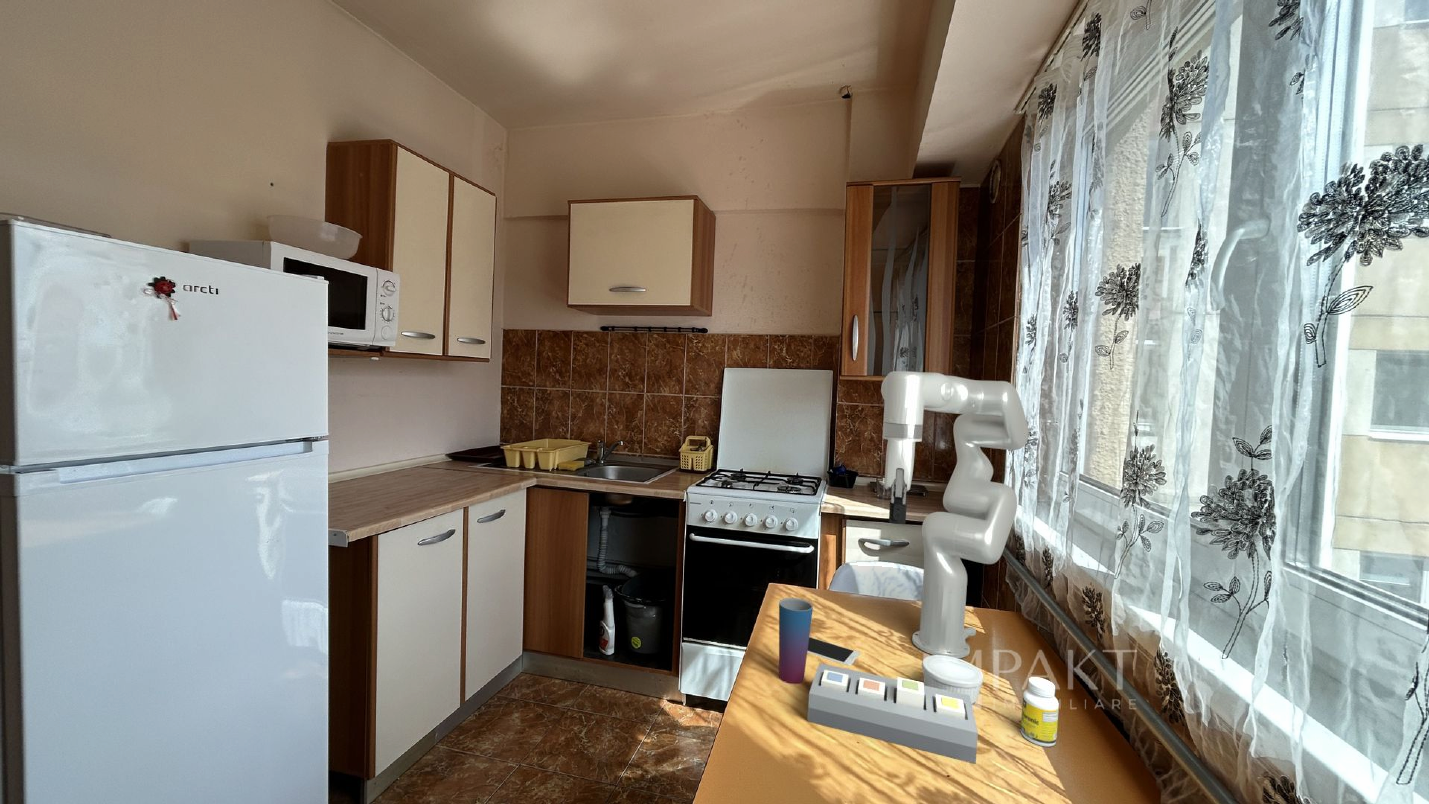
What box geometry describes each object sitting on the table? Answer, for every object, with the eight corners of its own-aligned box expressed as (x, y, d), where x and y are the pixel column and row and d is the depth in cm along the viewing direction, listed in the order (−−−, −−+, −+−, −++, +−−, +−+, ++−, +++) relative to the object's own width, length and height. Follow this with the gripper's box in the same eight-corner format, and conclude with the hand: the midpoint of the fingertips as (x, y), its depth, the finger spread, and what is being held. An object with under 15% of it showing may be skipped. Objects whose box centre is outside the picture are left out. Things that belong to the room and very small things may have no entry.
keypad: (807, 721, 97) (809, 693, 97) (817, 688, 109) (819, 662, 108) (975, 763, 88) (977, 732, 88) (967, 722, 100) (969, 695, 100)
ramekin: (978, 687, 113) (979, 661, 113) (985, 716, 102) (987, 688, 102) (919, 674, 117) (921, 650, 116) (921, 701, 106) (923, 674, 106)
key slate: (820, 697, 100) (821, 679, 100) (823, 685, 104) (824, 668, 104) (845, 702, 99) (846, 685, 99) (847, 690, 103) (848, 673, 103)
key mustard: (935, 724, 94) (937, 705, 94) (934, 710, 98) (935, 692, 98) (963, 731, 92) (965, 712, 92) (961, 716, 97) (962, 698, 96)
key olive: (896, 706, 96) (897, 687, 96) (896, 693, 100) (897, 676, 100) (923, 712, 94) (924, 693, 94) (922, 699, 99) (923, 681, 99)
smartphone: (850, 665, 118) (786, 644, 126) (850, 668, 118) (786, 647, 126) (860, 652, 125) (799, 633, 133) (860, 655, 125) (799, 636, 133)
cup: (807, 688, 108) (812, 612, 108) (773, 683, 109) (777, 608, 109) (808, 671, 115) (813, 600, 114) (776, 666, 116) (780, 596, 116)
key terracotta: (857, 705, 98) (858, 688, 98) (859, 693, 102) (860, 676, 102) (883, 711, 97) (884, 693, 97) (883, 699, 101) (885, 681, 101)
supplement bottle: (1013, 728, 99) (1017, 674, 99) (1042, 728, 99) (1046, 674, 99) (1033, 748, 93) (1037, 690, 93) (1063, 748, 94) (1067, 691, 94)
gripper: (884, 429, 120) (879, 513, 120) (881, 433, 106) (875, 528, 106) (921, 431, 117) (916, 517, 118) (923, 436, 103) (917, 534, 104)
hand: (897, 522), depth 112 cm, fingers closed
